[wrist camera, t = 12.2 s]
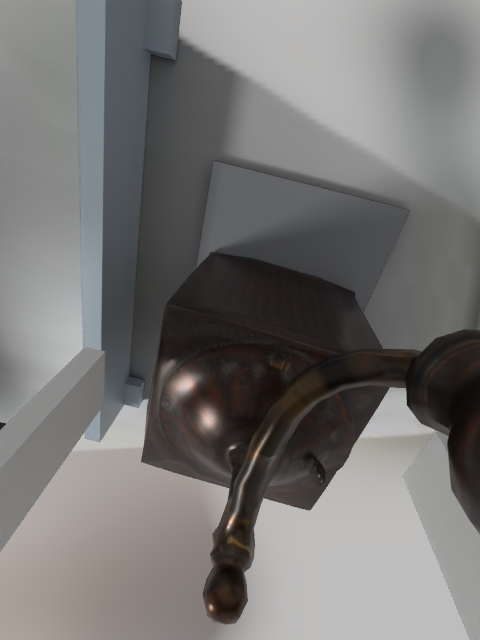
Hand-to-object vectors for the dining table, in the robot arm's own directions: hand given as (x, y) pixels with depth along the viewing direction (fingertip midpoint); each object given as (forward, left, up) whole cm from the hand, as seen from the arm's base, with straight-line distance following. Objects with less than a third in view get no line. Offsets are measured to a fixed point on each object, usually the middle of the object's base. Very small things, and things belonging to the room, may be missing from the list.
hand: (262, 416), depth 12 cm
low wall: (-11, +1, -12) cm, 16 cm away
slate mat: (0, 0, -12) cm, 12 cm away
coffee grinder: (0, 0, -11) cm, 11 cm away
